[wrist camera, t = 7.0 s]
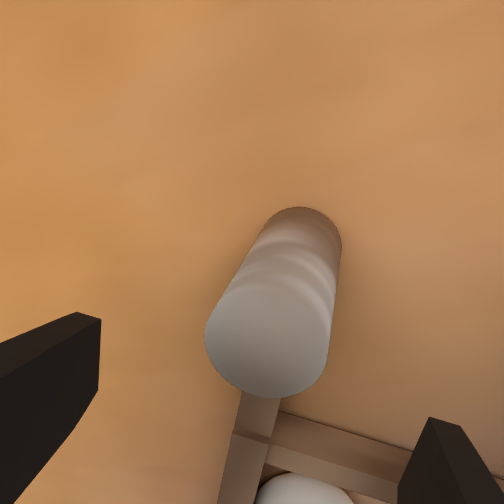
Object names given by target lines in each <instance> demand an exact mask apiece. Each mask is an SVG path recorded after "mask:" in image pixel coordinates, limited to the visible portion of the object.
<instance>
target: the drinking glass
mask: <svg viewBox="0 0 504 504" xmlns="http://www.w3.org/2000/svg"><path fill="white" fill-rule="evenodd" d="M253 504H354V503H353V502H352V500H351V499H350V497H349V496H348V495H347V494H346V493H345V492H344V491H343V490H342V489H341V488H340V487H337V486H334V485H331V484H328V483H325V482H322V481H319V480H316V479H313V478H310V477H306V476H303V475H300V474H297V473H286V474H282V475H279V476H276V477H274V478H272V479H270V480H269V481H267V482H266V483H265V484H264V485H263V486H262V487H261V488H260V490H259V491H258V493H257V495H256V497H255V499H254V503H253Z"/></svg>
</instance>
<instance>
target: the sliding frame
mask: <svg viewBox="0 0 504 504" xmlns="http://www.w3.org/2000/svg"><path fill="white" fill-rule="evenodd" d="M340 257H341V239H340V235H339V233H338V231H337V229H336V227H335V226H334V224H333V223H332V222H331V221H330V220H329V219H328V218H327V217H326V216H325V215H323V214H322V213H320V212H318V211H316V210H313V209H310V208H305V207H292V208H288V209H285V210H282V211H280V212H278V213H276V214H275V215H273V216H272V217H271V218H270V219H269V220H268V222H267V223H266V224H265V226H264V228H263V229H262V231H261V233H260V234H259V236H258V238H257V239H256V241H255V242H254V244H253V246H252V247H251V249H250V251H249V252H248V254H247V256H246V257H245V259H244V261H243V262H242V264H241V266H240V267H239V269H238V271H237V272H236V274H235V275H234V277H233V279H232V280H231V282H230V284H229V285H228V287H227V289H226V290H225V292H224V294H223V295H222V297H221V299H220V300H219V302H218V304H217V305H216V307H215V309H214V310H213V312H212V313H211V315H210V317H209V319H208V321H207V324H206V328H205V336H204V337H205V346H206V351H207V354H208V356H209V358H210V360H211V362H212V364H213V366H214V367H215V369H216V370H217V371H218V372H219V373H220V375H221V376H222V377H223V378H224V379H226V380H227V381H228V382H229V383H231V384H232V385H233V386H235V387H237V388H238V389H240V390H242V395H241V400H240V404H239V409H238V413H237V418H236V423H235V427H234V430H233V433H232V437H231V441H230V446H229V450H228V455H227V460H226V464H225V469H224V473H223V478H222V483H221V487H220V492H219V496H218V501H217V504H253V503H254V499H255V495H256V492H257V488H258V484H259V480H260V477H261V473H262V469H263V465H264V463H266V464H269V465H272V466H276V467H279V468H282V469H285V470H288V471H291V472H294V473H297V474H300V475H303V476H306V477H310V478H313V479H316V480H319V481H322V482H325V483H328V484H331V485H334V486H337V487H340V488H344V489H347V490H350V491H353V492H356V493H359V494H362V495H365V496H368V497H371V498H374V499H378V500H381V501H384V502H387V503H390V504H397V486H398V484H399V482H400V479H401V477H402V475H403V473H404V471H405V468H406V466H407V464H408V462H409V460H410V457H411V455H412V453H413V452H410V451H407V450H404V449H401V448H397V447H394V446H391V445H387V444H384V443H381V442H378V441H374V440H371V439H368V438H365V437H361V436H358V435H355V434H352V433H348V432H345V431H342V430H339V429H335V428H332V427H329V426H326V425H322V424H319V423H316V422H313V421H309V420H306V419H303V418H299V417H296V416H293V415H290V414H286V413H283V412H280V411H278V409H279V405H280V401H281V398H283V397H289V396H293V395H296V394H298V393H301V392H303V391H305V390H306V389H308V388H309V387H311V386H312V385H313V384H314V383H315V382H316V381H317V380H318V379H319V377H320V376H321V374H322V372H323V370H324V368H325V365H326V361H327V356H328V348H329V341H330V333H331V325H332V318H333V310H334V303H335V295H336V287H337V280H338V272H339V264H340ZM494 479H495V480H496V482H497V483H498V485H499V486H500V488H501V490H502V491H503V493H504V480H502V479H498V478H495V477H494Z"/></svg>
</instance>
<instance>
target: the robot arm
mask: <svg viewBox="0 0 504 504" xmlns="http://www.w3.org/2000/svg"><path fill="white" fill-rule="evenodd" d="M100 338H101V319H99V318H95V317H92V316H89V315H85V314H82V313H79V312H75V313H72V314H69V315H67V316H64V317H62V318H59V319H57V320H54V321H52V322H49V323H47V324H45V325H42V326H40V327H37V328H35V329H33V330H30V331H28V332H26V333H23V334H21V335H18V336H16V337H14V338H11V339H9V340H6V341H4V342H2V343H0V504H14V502H15V501H16V500H17V499H18V497H19V496H20V495H21V494H22V493H23V491H24V490H25V489H26V488H27V486H28V485H29V484H30V483H31V482H32V480H33V479H34V478H35V477H36V475H37V474H38V473H39V472H40V471H41V469H42V468H43V467H44V466H45V464H46V463H47V462H48V461H49V460H50V458H51V457H52V456H53V455H54V453H55V452H56V451H57V450H58V448H59V447H60V446H61V445H62V443H63V442H64V441H65V440H66V438H67V437H68V436H69V435H70V433H71V432H72V431H73V429H74V428H75V426H76V425H77V423H78V422H79V420H80V419H81V417H82V416H83V414H84V412H85V411H86V409H87V408H88V406H89V404H90V403H91V401H92V399H93V398H94V396H95V394H96V393H97V391H98V381H99V359H100ZM397 504H504V493H503V491H502V490H501V488H500V486H499V485H498V483H497V482H496V480H495V479H494V477H493V476H492V474H491V473H490V471H489V470H488V468H487V466H486V465H485V463H484V462H483V460H482V459H481V457H480V456H479V454H478V452H477V451H476V449H475V448H474V446H473V445H472V443H471V442H470V440H469V438H468V437H467V435H466V434H465V432H464V431H463V429H462V428H461V427H460V426H459V425H456V424H452V423H449V422H445V421H442V420H439V419H435V418H432V417H429V418H428V420H427V422H426V424H425V427H424V429H423V431H422V433H421V435H420V438H419V440H418V442H417V444H416V446H415V449H414V451H413V453H412V455H411V457H410V460H409V462H408V464H407V466H406V468H405V471H404V473H403V475H402V477H401V479H400V482H399V484H398V486H397Z"/></svg>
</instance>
